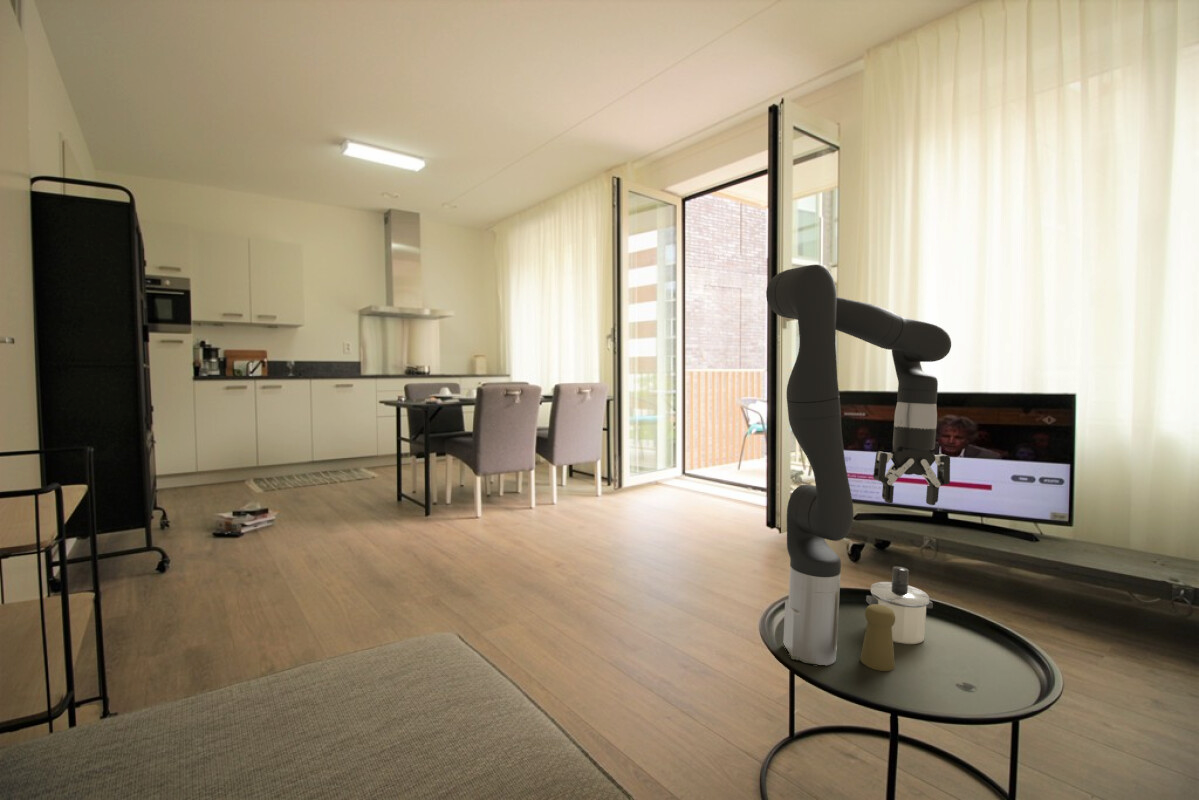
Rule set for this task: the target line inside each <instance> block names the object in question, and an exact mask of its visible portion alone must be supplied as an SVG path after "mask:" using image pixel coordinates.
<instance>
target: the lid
mask: <svg viewBox="0 0 1199 800" xmlns="http://www.w3.org/2000/svg"><path fill="white" fill-rule="evenodd" d="M909 572H910V570H909V569H908V568H906V567H903V566H893V567H892V577H891V578H892V579H891V580H892V581H879V582H878V581H877V582H874V583H873V584H871V585H870V593H871V596H875V597H876V598H878V599H880V600H882V601H884V602H887V603H890V604H894V605H898V606H903V607H924V606H927V605H928V604H929V600H930V596H929V594H927V593H926V592H925V591H924V590H921V589H920V588H917V587H915V586H911V585H909Z"/></svg>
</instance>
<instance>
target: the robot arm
mask: <svg viewBox="0 0 1199 800" xmlns="http://www.w3.org/2000/svg"><path fill="white" fill-rule="evenodd" d="M765 292H766V295H765V297H766V301H767V304H768V306H769V308H770V309H771V310H772V312H773V313H774V314H776V315H777V316H780V317H781V318H785V319H789V320H790V319H792V320H797V323H798V335H799V336H798V337H799V344H798V345H799V346H798V353H797V356H796V359H795V362H794V365H793V368H792V369H791V373H790V375H789V379H788V381H787V385H786V403H787V404H786V405H787V413H788V415H787V416H788V417H787V418H788V422H789V426H790V430H791V431H792V434H793V436H794V438H795V439H796V441H797V442H798V444H799V447H800V448H801V450H802V451H803V453H804V455H805V456H806V458H807V460H808V462H809V465H810V467H811V469H812V472H813V477H814V483H815V485H812V484H802V485H799V486H797V487H796V488H795V489H794V490H793V491H792V492H791V494H790V497H789V500H788V502H787V507H786V549H787V553H788V556H789V558H790V559H789V560H790V561H789V563H790V564H789V565H790V566H789V579H788V580H789V585H788V599H785V601H784V616H783V617H784V621H783V622H784V623H783V642H782V644H783V643H784V645H785V647H786V648H787V649H788V651H789V652H790V653H791V655H792V656H797V657H800V658H801V659H804V660H806V661H809V662H812V663H815V664H818V665H825V666H830V665H832V664H834V663H835V662H836V660H837V650H838V630H839V629H838V628H839V611H840V610H839V609H840V608H839V607H840V588H841V571H842V570H841V569H842V561H841V558H840V556H839V554H838V553H836V552H835V551H834V550H833V549H832V548H831V547H830V546H829V544H828V543H827V542H826V540H827V541H835V542H837V541H838V542H839V541H841V540H843V539H845V538H846V537H847V536H848V535H849V533H850V532H851V529H852V526H853V522H854V521H853V520H854V504H853V498H852V492H851V491H852V490H851V487H850V482H849V481H850V480H849V477H848V472H847V466H846V458H845V451H844V440H843V432H842V413H841V412H842V411H841V410H842V409H841V399H840V397H841V396H840V390H839V382H838V367H837V364H838V362H837V350H836V349H837V346H836V345H837V343H836V340H837V339H836V333H837V331H838V332H841V333H844V334H846V335H848V336H851V337H854V338H856V339H859V340H861V341H864V342H866V343H869V344H871V345H872V346H873V345H874V346H875V347H879V348H881V349H885V350H891V355H892V360H893V364H894V369H895V373H896V377H897V382H898V383H897V384H898V386H897V399H896V401H897V402H896V407H895V410H894V421H893V422H894V423H893V434H892V435H893V436H892V438H893V439H892V451H891V452H890V453H889V452H884V451H880V450H878V451H877V452H876V454H875V459H874V467H873V474H872V476H873V477H872V478H873V479H874V480H875V481H879V482H880V483H882V489H881V490H882V492H881V497H882V499H883V500H884V502H885V503H887V504H893V503H894V491H895V490H894V489H895V485H894V484H895V482H896V481H897V479H898V478H901V477H902V476H903V475H908V476H909V475H911V476H912V475H917V476H922V477H923V478H924V479H925V481H926V483H928V485H926V497H925V502H926V504H928V505H929V506H935V505H936V503H938V501H939V492H940V487H941V486H944V485H950V483H951V457H950V456H949V455H946V454H943V453H938V454H935V453H934V451H935V448H936V447H935V446H936V436H937V435H936V434H937V425H938V422H937V421H938V411H937V401H938V388H939V387H938V385H939V384H938V378H937V377H936V376H934V375H932V374H929V373H925V372H924V371H923V368H922V365H921V362H923V363H932V362H937V361H941V360H943V359H944V358H945V357H946V356H948V354H949V353H950V351H951V347H952V340H951V337H950V335H949V333H948V332H947V331H946V330H945V329H944V328H943V327H941V326H939V325H937V324H934V323H930V322H928V321H922V320H917V319H914V318H913V319H912V318H907V317H903V316H902V315H900V314H898V313H895V312H893V311H892V310H888V309H886V308H884V307H881V306H878V305H875V304H871V303H868V302H865V301H864V302H863V301H857V300H853V299H848V298H843V297H840V296H837V287H836V282H835V279H834V277H833V275H832V273H831V272H830V270H829V269H828V268H827V267H825V266H824V265H821V264H809V265H804V266H799V267H794V268H789V269H786V270H784V271H781V272H779V273H777V274H775V275H774V276H773V277H772V278H771V279H770V281H769V282H768V284H767V287H766V291H765ZM890 461H892V462H893V464H892V465H891V466H890V467H889V468H888V470H887V464H888V463H889V462H890ZM934 463H935V464H936V473H937V474H936V473H935V472H934V470H933V469H932V467H931V466H932V465H933V464H934ZM886 471H887V472H886ZM785 647H784V648H785Z"/></svg>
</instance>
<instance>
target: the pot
mask: <svg viewBox="0 0 1199 800" xmlns="http://www.w3.org/2000/svg"><path fill="white" fill-rule="evenodd" d="M865 598H866V599H865V601H866V602H867V604H869V605H872V604H879V605H884V606H886V607H888V608H890V609H891V610H893V612H894V614H895V623H894V625H893V626H892V638H893V643H898V644H903V645H919V644H921V643H923V642H924V641H925V635H926V634H925V632H926V618H927V609H933V606H934V603H933V602H932V601H931V600H930V599H929V604H928V605H927V606H924V607H903V606H898V605H894V604H890V603H887V602H884V601H882V600H880V599H878V598H876V597H875V596H873V595H866V597H865Z"/></svg>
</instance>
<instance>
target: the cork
mask: <svg viewBox="0 0 1199 800" xmlns="http://www.w3.org/2000/svg"><path fill="white" fill-rule="evenodd" d="M864 615H865V620H866V622H867V624H866V629H865V633H864V638H863V642H862V647H861V653H860V658H859V661H860V662H861V663H862V664H863V665H864V666H866V667H868V668H870V669H873V670H876V671H881V672H891V671H893V670H895V669H896V661H895V652H894V651H895V650H894V642H893V638H892V626H893V625H894V623H895V614H894V612H893V610H891V609H890V608H888V607H886V606H884V605H879V604H872V605H870V604H869V605H868V606H867V607H866V608H865V611H864Z"/></svg>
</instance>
